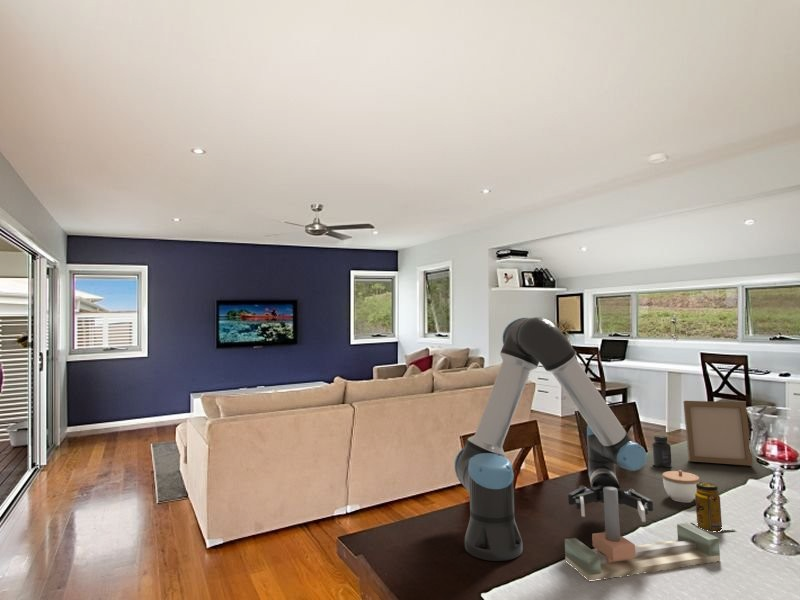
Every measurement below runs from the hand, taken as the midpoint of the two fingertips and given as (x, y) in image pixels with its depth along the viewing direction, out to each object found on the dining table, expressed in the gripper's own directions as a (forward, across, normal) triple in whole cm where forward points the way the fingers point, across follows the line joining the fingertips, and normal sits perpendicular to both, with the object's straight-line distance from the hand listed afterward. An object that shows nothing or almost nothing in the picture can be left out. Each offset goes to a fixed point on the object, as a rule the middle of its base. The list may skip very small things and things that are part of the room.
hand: (612, 513), depth 119 cm
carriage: (0, 0, -11) cm, 11 cm away
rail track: (-4, -6, -13) cm, 15 cm away
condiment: (-32, -29, -13) cm, 45 cm away
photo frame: (-107, -50, -13) cm, 119 cm away
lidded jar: (-54, -26, -13) cm, 61 cm away
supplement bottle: (-95, -27, -13) cm, 99 cm away
